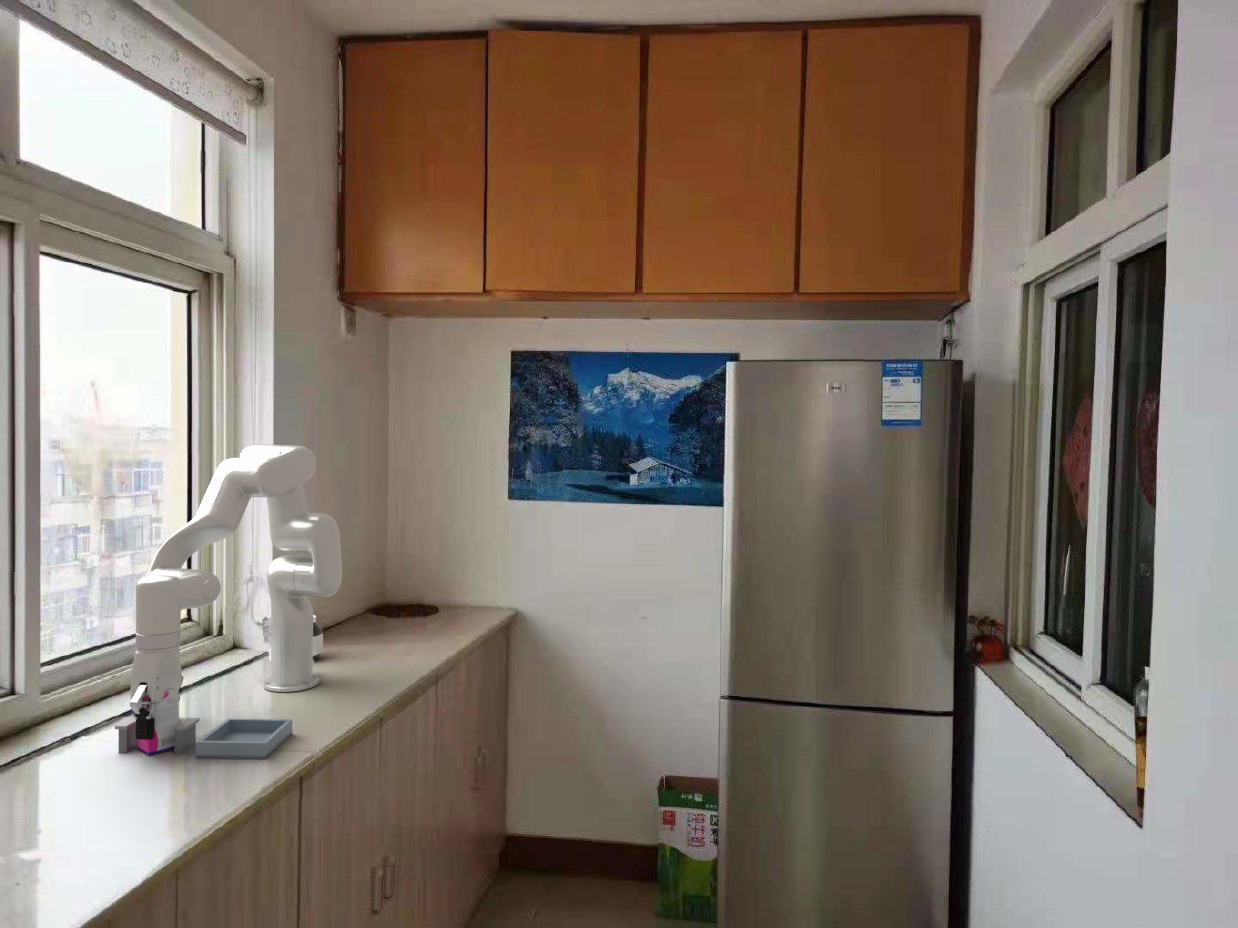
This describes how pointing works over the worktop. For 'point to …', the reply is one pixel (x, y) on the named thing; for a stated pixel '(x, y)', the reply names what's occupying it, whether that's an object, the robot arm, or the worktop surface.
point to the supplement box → (162, 724)
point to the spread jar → (314, 640)
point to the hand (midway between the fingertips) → (157, 730)
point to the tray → (244, 738)
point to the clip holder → (183, 735)
